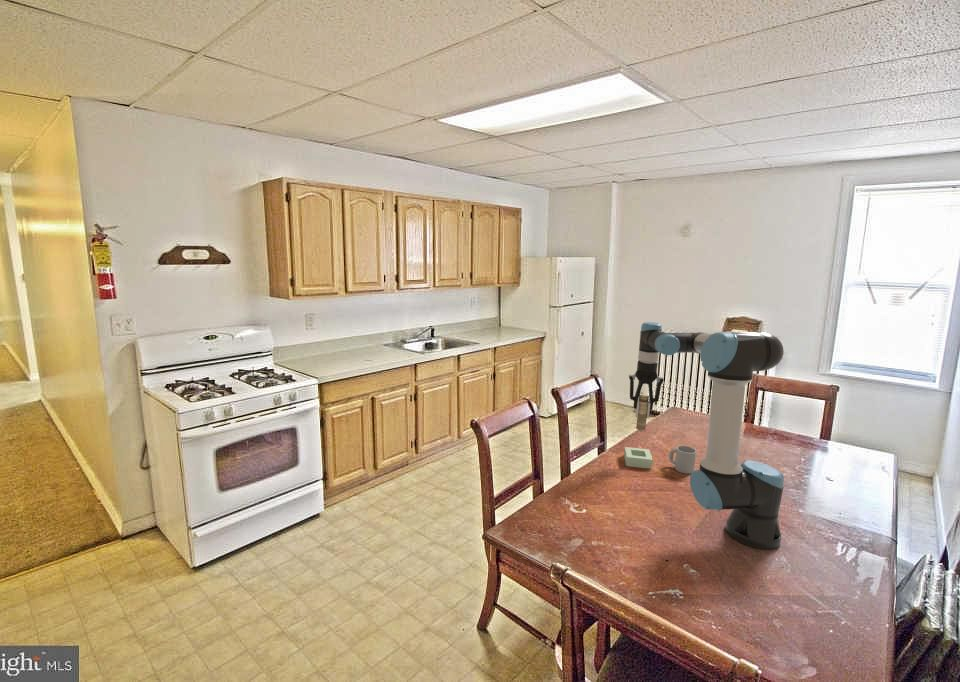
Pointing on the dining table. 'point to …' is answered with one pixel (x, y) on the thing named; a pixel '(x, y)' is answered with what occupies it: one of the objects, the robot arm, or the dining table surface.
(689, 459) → the cup
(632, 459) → the square block with hole
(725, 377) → the robot arm
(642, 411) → the striped wooden dowel
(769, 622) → the dining table surface
